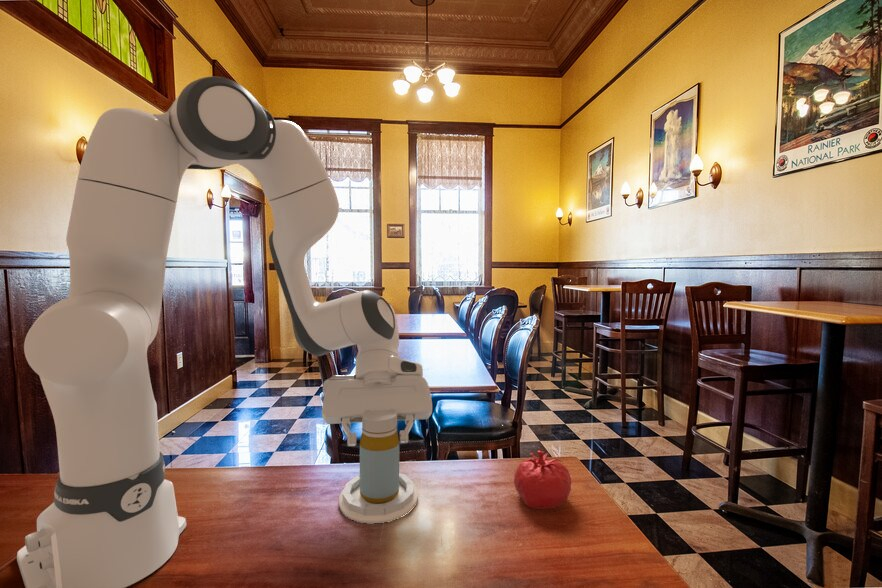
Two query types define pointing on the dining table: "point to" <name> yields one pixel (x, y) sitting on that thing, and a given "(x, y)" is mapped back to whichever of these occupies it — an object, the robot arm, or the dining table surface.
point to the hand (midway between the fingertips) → (378, 443)
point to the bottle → (379, 456)
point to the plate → (377, 513)
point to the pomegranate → (542, 482)
